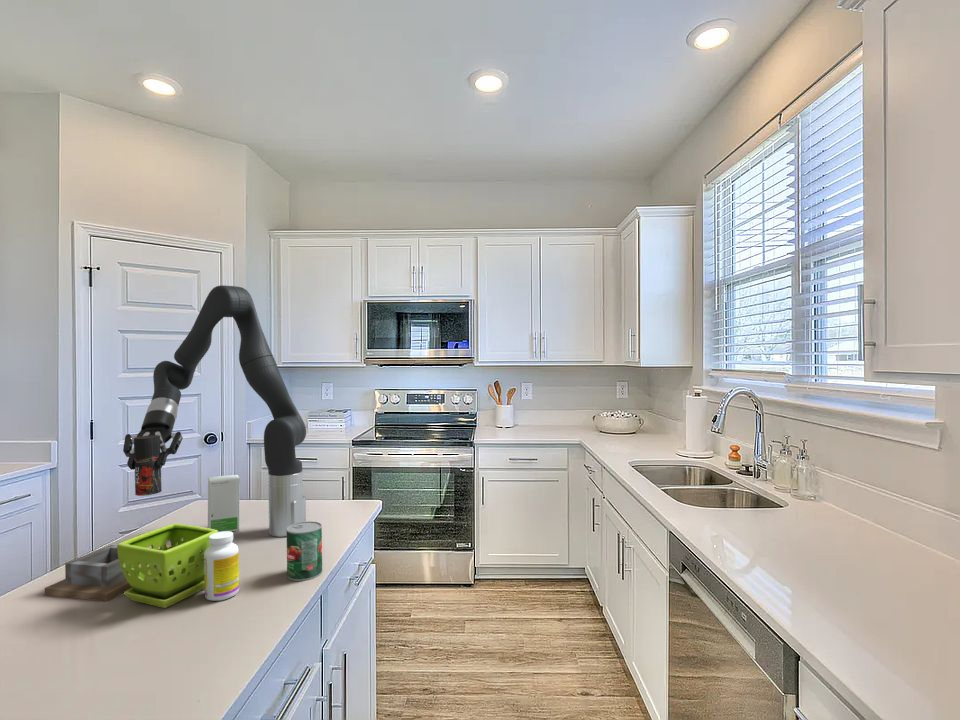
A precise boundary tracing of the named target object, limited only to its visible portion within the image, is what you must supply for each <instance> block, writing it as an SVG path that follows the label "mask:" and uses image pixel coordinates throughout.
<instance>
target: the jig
mask: <svg viewBox="0 0 960 720" xmlns="http://www.w3.org/2000/svg"><path fill="white" fill-rule="evenodd" d="M117 545H118V544H117ZM117 545H116V544H110V545H108V546H105V547H103V548H100V549H97V550H94V551H92V552H89V553H87V554H85V555H82V556H80V557H78V558H76V559H73V560H69V561H68V562H65V563H64V564H65V565H64V566H65V568H64V570H65V575H64V576H65V579H62V580H60V581H58V582H55V583H52V584H50V585H49V586H46V587H44V596H52V597H59V598H60V597H61V598H62V597H63V598H72V599H79V598H80V600H89V601H90V600H91V601H100V602H108V601H110V600H111V599H113V598H116V597H117V596H120V595H121V594H124V592H125V591H127V590H129V589H131V588H132V587H131V586H130V584H129V583H128V581H127V580H126V578H125V576H124V574H123V572H122V569H121V566H120V563H119V558H118V552H117ZM166 546H167V548H169V547H170V546H171V544H170V545H169V544H168V545H167V544H166ZM147 548H151V549H152V547H151V546H149V547H147ZM158 550H160V547H159V548H158ZM139 564H140V563H139Z"/></svg>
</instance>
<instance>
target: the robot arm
mask: <svg viewBox="0 0 960 720" xmlns="http://www.w3.org/2000/svg"><path fill="white" fill-rule="evenodd" d="M249 292H250V291H248V290H247V289H246V288H244V287H242V286H241V287H240V286H235V285H225V284H224V285H223V284H222V285H216V286H215V287H213V288H211V290H210V291H209V293H208V295H207V296H206V298H205V300H204V302H203V305H202V306H201V309H200V311H199V312H198V315H197V317H196V319H195V321H194V323H193V325H192V328H191V329H190V331H189V332H188V334H187V336H185V338H184V340H183V341H182V342H181V344H180V345H179V346H178V348H177V349H176V350H175V353H174V354H173V359H174V360H175V361H176V362H177V363H175V362H172V361H171V360H170V361H169V360H163V361H160V362H159V363H157V364H156V366H155V368H154V370H153V377H152V378H153V379H152V381H153V394H152V398H151V400H150V403H149V405H148V407H147V410H146V413H145V415H144V417H143V418H144V419H143V421H142V425H141V428H140V431H139V432H138V433H137V434H135V435H131V434H130V433H127V434H125V436H124V442H123V448H122V452H123V453H124V455H125V456H126V458H128V460H127V462H126V465H127V466H128V468H129V469H130V470H131V471H133V470H134V471H135V465H134V447H133V446H134V438H135V437H140V436H149V435H159V436H160V454H159V457H158V460H157V466H158V468H161V469H162V468H163V466H165V465H166V461H167V458H168V456H169V455H176V454H177V451H178V450H179V447H180V446H181V443H182V440H183V435H182V432H181V431H177V432H176V433H174V432H173V430H174V426H175V423H176V419H177V416H178V409H179V408H178V407H179V405H180V401H181V397H182V392H181V391H182V390H185V389H187V388H189V386H190V385H191V384H192V383H193V378H194V375H195V371H196V369H197V367H198V365H199V364H200V362H201V360H203V358H204V357H205V355H206V354H207V353H208V351H209V349H210V348H211V345H212V340H213V339H212V337H213V336H212V335H213V331H214V328H215V327H216V326H217V324H218V323H219V322H220V321H221V320H223V319H224V318H233V320H234V322H235V324H236V326H237V329H238V331H239V335H240V344H239V351H238V352H239V353H238V361H239V365H240V368H241V370H242V372H243V375H244V377H245V380H246V381H247V383H248V385H249V387H251V389H253V391H254V392H255V393H256V394H257V395H258V397H260V399H262V401H264V402H265V404H266V405H267V407H268V409H269V411H270V413H271V415H272V418H273V419H272V420H271V421H269V422H268V423H267V425H266V426H265V428H264V431H263V445H264V447H263V449H264V452H263V453H264V462H265V465H266V467H267V470H268V472H267V476H268V481H267V483H268V534H269V535H270V536H271V537H272V536H273V537H278V538H279V537H280V538H281V537H286V536H287V531H286V528H287V527H288V526H290V525H292V524H295V523H299V522H307V509H306V508H307V505H306V504H307V501H306V500H307V499H306V496H303V462H302V461H301V460H300V459H298V458H297V457H296V447H297V446H299V445H301V444H302V443H303V442H304V441H305V439H306V436H307V428H306V424H305V422H304V420H303V418H302V416H301V414H300V412H299V411H298V409H297V407H296V405H295V404H294V402H293V400H292V398H291V396H290V394H289V391H288V389H287V386H286V383H285V381H284V379H283V377H282V375H281V372H280V370H279V367H278V364H277V362H276V360H275V357H274V355H273V353H272V351H271V349H270V346H269V344H268V341H267V339H266V335H265V334H264V332H263V329H262V326H261V323H260V320H259V316H258V312H257V310H256V307H255V303H254V299H253V298H252V295H251V294H250V293H249ZM171 439H172V441H171V443H170V445H169V447H167V446H166V443H168V442H169V441H170V440H171Z"/></svg>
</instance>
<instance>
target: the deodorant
mask: <svg viewBox="0 0 960 720" xmlns="http://www.w3.org/2000/svg"><path fill="white" fill-rule="evenodd" d="M133 448H134V465H135V469H134V489H135V490H134V491H135V492H134V493H135V494H134V495H135V496H138V497H139V496H140V497H141V496H142V497H144V496H151V495H157V494H160V493H161V492H162V468H158V466H157V460H158V457H159V454H160V452H161V449H160V436H159V435H149V436H140V437H135V438H134V444H133Z"/></svg>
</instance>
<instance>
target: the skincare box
mask: <svg viewBox="0 0 960 720" xmlns="http://www.w3.org/2000/svg"><path fill="white" fill-rule="evenodd" d="M207 481H208V482H207V484H208V485H207V488H208V489H207V528H210V529H214V530H217V531H218V532H223V531H230V532H232V531H236V532H240V494H241V493H240V492H241V491H240V482H241V481H240V476H239V474H230V475H220V476H218V475H217V476H209V477H207Z"/></svg>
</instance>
